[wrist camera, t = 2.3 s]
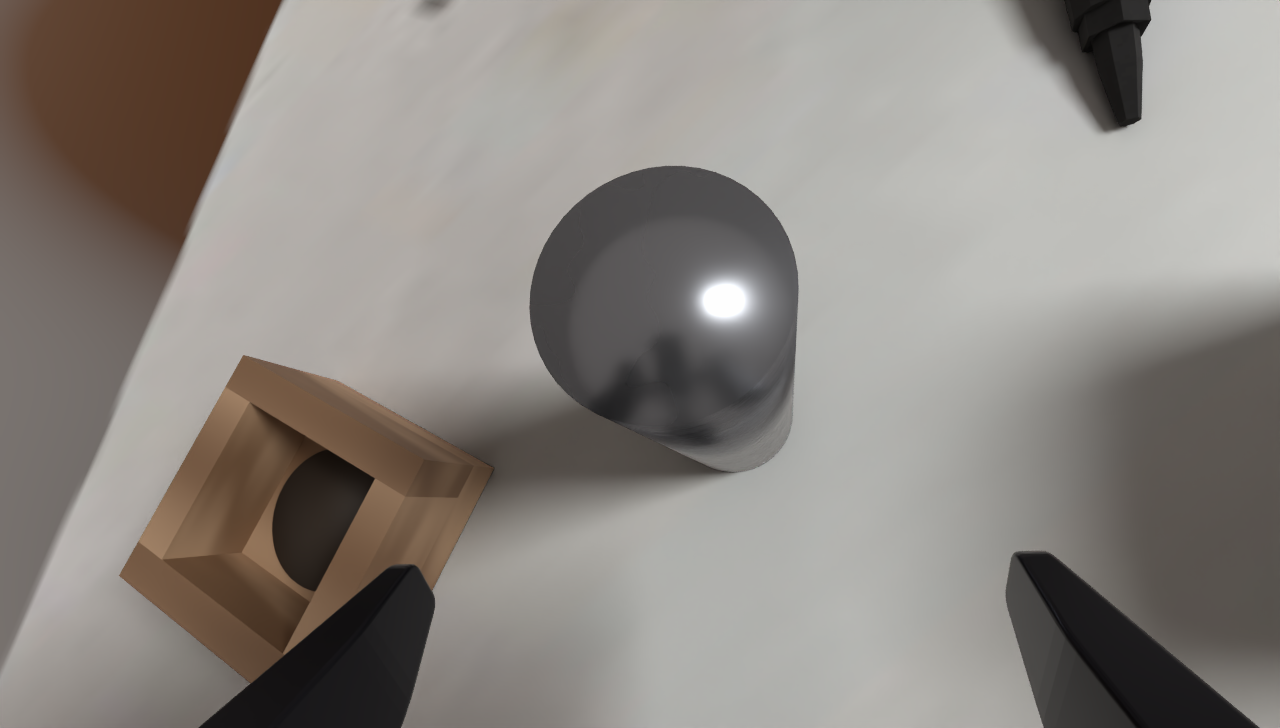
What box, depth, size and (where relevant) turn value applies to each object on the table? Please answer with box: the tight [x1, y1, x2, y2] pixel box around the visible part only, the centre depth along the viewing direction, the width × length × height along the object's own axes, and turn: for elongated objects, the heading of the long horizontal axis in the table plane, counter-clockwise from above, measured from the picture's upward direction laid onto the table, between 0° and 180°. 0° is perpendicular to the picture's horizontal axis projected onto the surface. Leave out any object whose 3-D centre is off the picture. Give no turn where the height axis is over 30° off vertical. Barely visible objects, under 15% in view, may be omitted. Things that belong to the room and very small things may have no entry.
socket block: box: [119, 355, 494, 683], centre depth 21 cm, size 8×8×4 cm
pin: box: [530, 166, 798, 472], centre depth 15 cm, size 4×4×12 cm
